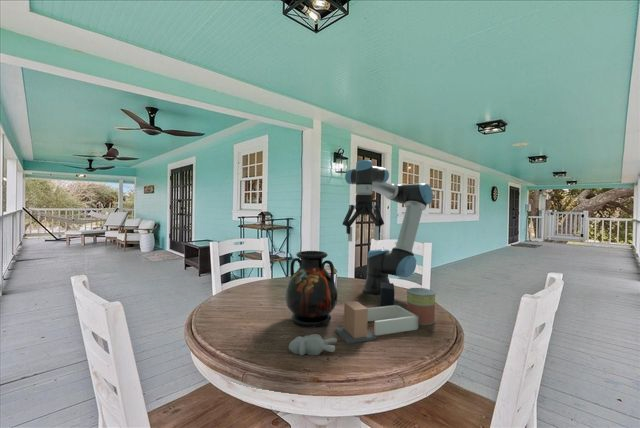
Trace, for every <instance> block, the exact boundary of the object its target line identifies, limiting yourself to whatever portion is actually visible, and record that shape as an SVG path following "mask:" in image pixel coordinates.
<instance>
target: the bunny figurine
mask: <svg viewBox="0 0 640 428" xmlns="http://www.w3.org/2000/svg"><path fill="white" fill-rule="evenodd" d="M335 343H338V340H337V337H331V338H327V339H323V337H322V336H321V335H320V334H317V333H315V334H313V333H312V334H310V335H305V336H303V337H302V336H301V335H300V336H297V337H294V339H293V340H291V341H290V343H289V344H288V351H291V352H292V353H293V354H295V355H299V356H304V355H306V354H307V355H309V356H319V355H320V354H321V353H322V352H323V351H326V352H330V353H333V352H334V351H336V348H335V345H333V344H335Z"/></svg>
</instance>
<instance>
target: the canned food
mask: <svg viewBox="0 0 640 428" xmlns="http://www.w3.org/2000/svg"><path fill="white" fill-rule="evenodd" d="M406 291H407V293H406V295H407V296H406V310H407V311H409V312H411V313H413V314H415V315H417V316H418V325H420V326H431V325H433V324H435V323H436V322H435V319H436V318H435V316H436V313H435V312H436V291H434V290H432V289H429V288H425V287H410V288H407V289H406Z"/></svg>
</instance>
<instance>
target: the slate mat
mask: <svg viewBox="0 0 640 428" xmlns="http://www.w3.org/2000/svg"><path fill="white" fill-rule="evenodd" d="M335 332H336V333H337V334H338V335H339V336H340V338H341V339H342V340H343V341H344V342H346V343H347V344H355V343H360V342H366V341H374V340H377V336H376V335H374V333H372V332H371V331H370V330H368V329H367V337H361V338H353V337H352V336H351V335H350V334H349V333H348V332H347V331H346V330H345V329H344V326H343V327H337V328H335Z"/></svg>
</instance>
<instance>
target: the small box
mask: <svg viewBox="0 0 640 428" xmlns="http://www.w3.org/2000/svg"><path fill="white" fill-rule="evenodd" d="M379 295H380V296H379V297H380V298H379V299H380V300H379V307H383V306H392V305H395V284H394V283H393V282H392V283H391V282H390V283H383V282H381V294H379Z"/></svg>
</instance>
